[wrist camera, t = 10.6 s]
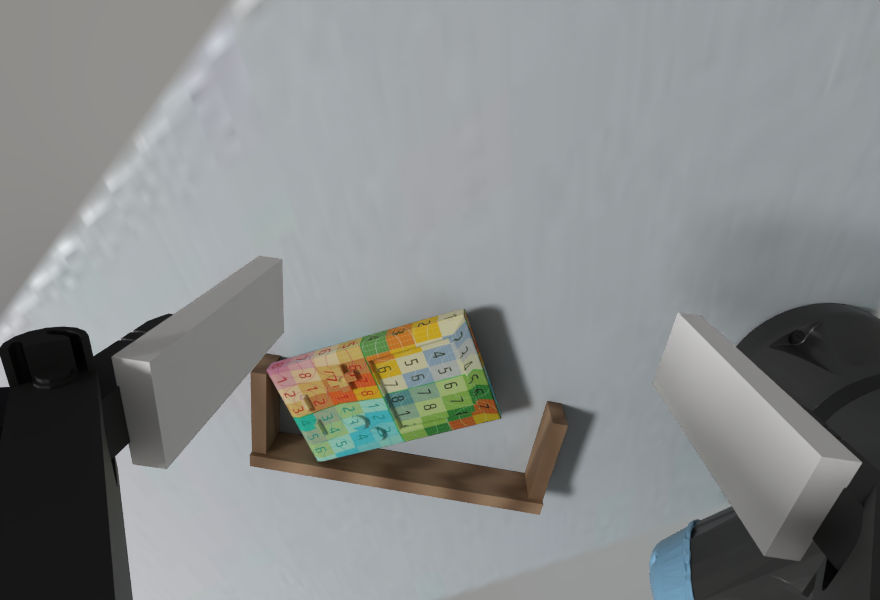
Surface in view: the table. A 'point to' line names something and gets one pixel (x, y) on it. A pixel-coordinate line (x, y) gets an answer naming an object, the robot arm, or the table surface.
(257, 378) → the frame
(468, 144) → the table surface
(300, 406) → the puzzle game
